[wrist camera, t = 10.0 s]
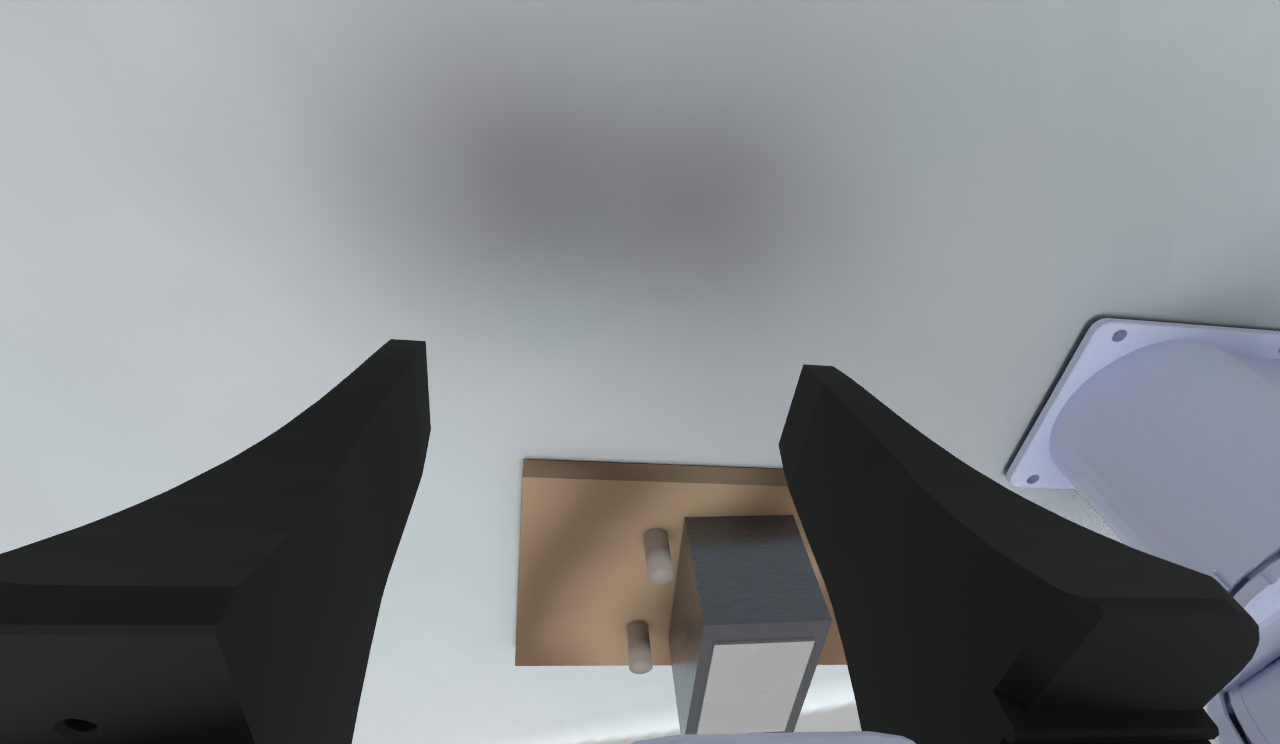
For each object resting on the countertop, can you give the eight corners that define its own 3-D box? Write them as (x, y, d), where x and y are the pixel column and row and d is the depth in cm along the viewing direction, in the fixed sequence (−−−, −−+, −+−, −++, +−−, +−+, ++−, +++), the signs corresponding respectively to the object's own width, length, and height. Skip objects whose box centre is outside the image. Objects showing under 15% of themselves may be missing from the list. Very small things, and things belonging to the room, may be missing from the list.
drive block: (793, 514, 27) (833, 623, 23) (761, 634, 32) (790, 743, 28) (684, 517, 27) (705, 627, 23) (667, 638, 31) (682, 749, 27)
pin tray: (955, 475, 28) (991, 529, 26) (867, 646, 35) (889, 702, 32) (524, 459, 26) (518, 516, 23) (516, 646, 32) (511, 707, 30)
